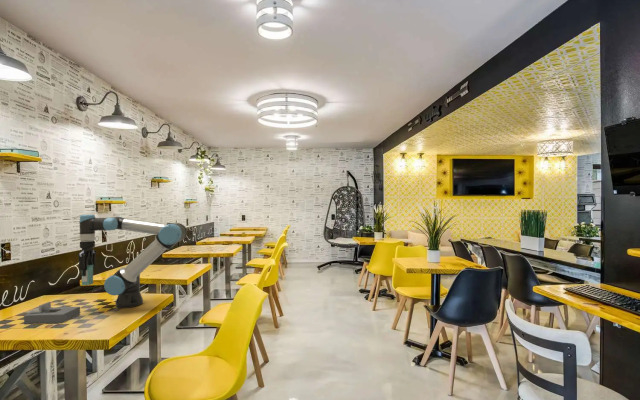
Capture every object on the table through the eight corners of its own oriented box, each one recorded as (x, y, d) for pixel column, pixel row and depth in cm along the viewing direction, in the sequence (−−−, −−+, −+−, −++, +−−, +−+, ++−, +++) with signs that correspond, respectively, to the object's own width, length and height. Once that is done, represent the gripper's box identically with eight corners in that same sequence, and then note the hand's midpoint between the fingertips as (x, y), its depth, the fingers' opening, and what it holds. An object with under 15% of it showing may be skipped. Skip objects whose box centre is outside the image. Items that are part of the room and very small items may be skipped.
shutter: (51, 308, 194) (51, 301, 194) (41, 312, 186) (41, 305, 187) (37, 308, 194) (37, 302, 194) (26, 313, 186) (26, 306, 186)
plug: (93, 283, 204) (93, 264, 205) (89, 285, 200) (88, 266, 200) (86, 283, 204) (85, 264, 204) (81, 285, 200) (81, 266, 200)
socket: (79, 314, 198) (79, 306, 198) (63, 322, 184) (63, 314, 184) (43, 315, 197) (43, 307, 197) (24, 324, 183) (24, 315, 183)
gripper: (89, 239, 211) (89, 277, 210) (71, 242, 194) (71, 284, 193) (102, 239, 211) (102, 277, 211) (84, 242, 194) (84, 283, 194)
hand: (87, 280), depth 202 cm, fingers closed on plug, 4 cm apart
